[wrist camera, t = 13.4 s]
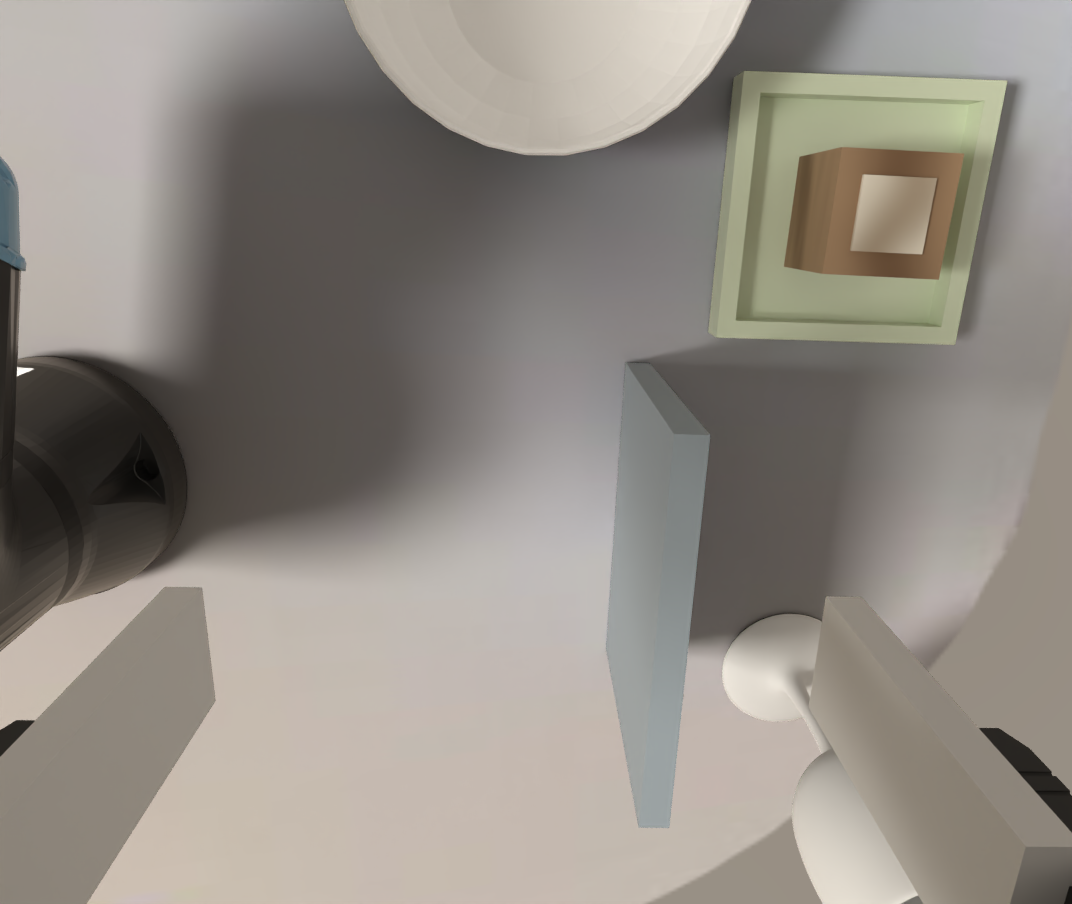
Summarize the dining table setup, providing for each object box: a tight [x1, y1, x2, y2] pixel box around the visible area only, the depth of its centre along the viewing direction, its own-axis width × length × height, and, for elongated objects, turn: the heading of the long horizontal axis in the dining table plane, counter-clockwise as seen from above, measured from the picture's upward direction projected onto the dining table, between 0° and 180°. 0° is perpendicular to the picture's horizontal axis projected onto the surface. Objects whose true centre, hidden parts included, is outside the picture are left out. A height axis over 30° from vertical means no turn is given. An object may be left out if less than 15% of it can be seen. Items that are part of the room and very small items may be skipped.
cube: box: [784, 147, 964, 280], centre depth 40 cm, size 6×6×6 cm
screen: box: [606, 362, 710, 828], centre depth 41 cm, size 20×2×16 cm, turn 178°
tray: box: [708, 71, 1007, 345], centre depth 43 cm, size 14×14×2 cm
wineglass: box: [722, 614, 923, 904], centre depth 43 cm, size 9×9×21 cm
